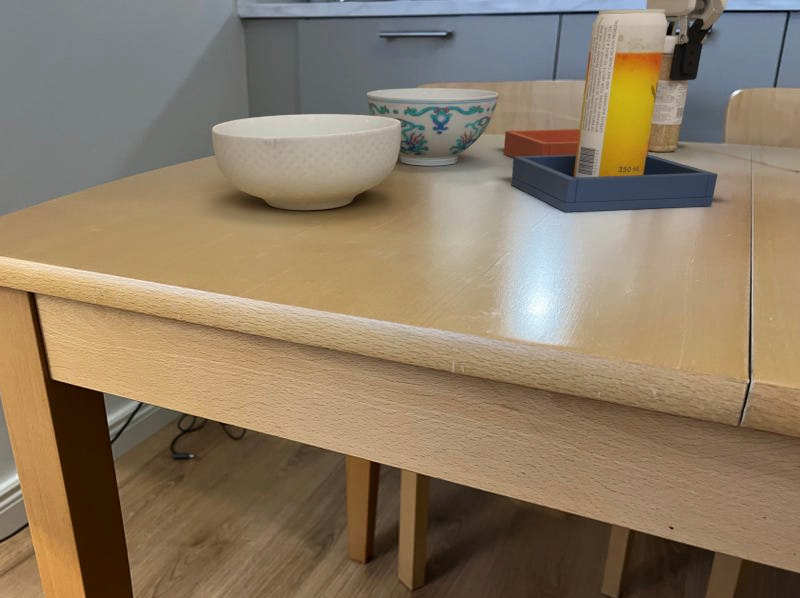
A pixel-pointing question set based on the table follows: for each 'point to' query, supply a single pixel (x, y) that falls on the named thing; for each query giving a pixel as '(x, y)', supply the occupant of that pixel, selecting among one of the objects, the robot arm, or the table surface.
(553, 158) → the blue tray
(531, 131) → the terracotta tray
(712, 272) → the table surface
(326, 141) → the cereal bowl
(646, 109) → the beer can
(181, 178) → the table surface
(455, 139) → the chinaware
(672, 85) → the sprinkles bottle
